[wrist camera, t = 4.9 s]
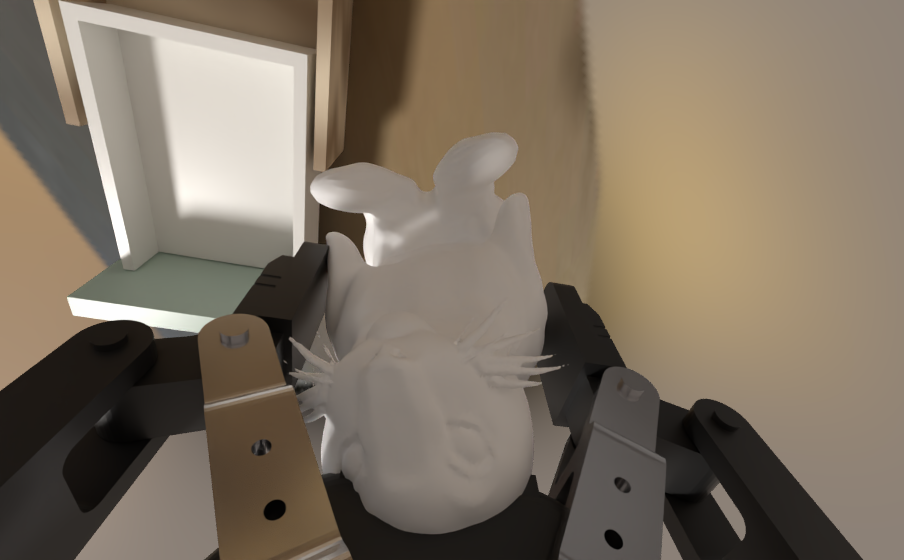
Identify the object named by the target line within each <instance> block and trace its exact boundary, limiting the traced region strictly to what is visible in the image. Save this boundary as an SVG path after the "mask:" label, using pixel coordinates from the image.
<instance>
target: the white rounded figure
mask: <svg viewBox="0 0 904 560" xmlns="http://www.w3.org/2000/svg"><path fill="white" fill-rule="evenodd" d="M517 151H518V145H517V143H516V141H515V140H514V139H513V138H512V137H511V136H509V135H508V134H506V133H499V132H492V133H487V134H483V135H479V136H474V137H470V138H465V139H462V140H460V141H459V142H457V143H456V144H455V145H454V146H453V147H452V148H451V149H450V150H449V151H448V152H447V153H446V154H445V156H444V157H443V158H442V160H441V161H440V163H439V164H438V166H437V167H436V169H435V172H434V175H433V180H434V183H435V188H434V189H433V190H432V191H430V192H424V191H422V190H420V189H419V188H418V186H417V185H416V183H415V181H414V180H412V179H411V178H408V177H406V176H403V175H400V174H398V173H395V172H393V171H391V170H389V169H386V168H384V167H381V166H378V165H375V164H371V163H365V162H360V163H355V164H350V165H346V166H342V167H337V168H332V169H329V170H326V171H324V172H322V173H321V174H319V175H317V176H316V177H315V179H314V180H313V181H312V183H311V186H310V192H311V194H312V195H313V197H314V198H315V199H316V200H317V202H319V203H320V204H323V205H324V206H327V207H329V208H332V209H336V210H340V211H345V212H351V213H363V214H364V216H365V219H366V231H365V235H364V240H363V249H364V256H365V260H366V263H365V262H364V260H363V259H362V257H361V255H360V252H359V251H358V249H357V247H356V246H355V244H354V243H353V242H352V241H351V240H350V239H349V238H348V237H346V236H345V235H343V234H341V233H338V232H329V233H328V234H327V235H326V241H327V245H329V250H328V255H327V270H328V288H327V298H326V309H325V320H326V328H327V333H328V336H329V339H330V342H331V344H332V346H333V349H334V352H335V355H336V358H337V360H338V362H337V363H336V362H335V361H334V360H333V357H332V356H331V354H330V352H329V350H328V348H327V347H326V346H325V345H324V344H323V347H324V350H325V351H326V353H327V354H328V356H329V357H330V358H332V360H331V362H330V363H328V362H326V361H324V360H322V359H321V358H319V357H317V356H315V355H314V354H312V353H311V352H310V351H309V350H308V349H306V348H305V347H304V346H303V345H302V344H300V343H298V342H296V341H295V340H294V339H293V338H291V337H290V338H289V340H290V341H291V342H292V343H293V345H294V346H295V347H296V348H297V349H298V350H299V352H300V353H301V354H302V355H303V356H304V358H305V359H306V360H307V361H308V362H310V363H311V364H312V365H313V366H315V367H317V368H318V369H320V370H321V371H322V372H323V373H305V372H303V371H300V370H298V369H296V368H295V370H296V371H297V372H299V373H296V372H289V374H290V375H292V376H294V377H296V378H298V379H302V380H305V381H306V380H307V381H311V382H312V383H315V386H314V384H313V386H314V387H312V388H310V389H309V388H308V390H306V391H304V392H302V393H301V394H299V395H297V396H296V397H297V400H298V402H299V401H302V402H303V403H302V404H301V405H300V406H299V407H300V410H301V413H302V412H304V411H306V410H308V409H311V408H313V409H314V411H313V412H312V413H311V414H309V415H308V416H306V417H304V418H303V419H304V423H308V422H312V421H315V420H317V419H318V418H320V417H322V416H325V418H326V422H325V427H324V432H323V438H322V446H321V461H322V462H321V463H322V471H323V474H327V473H335V474H336V473H340V471H341V470H342V472H343V474H344V476H345V478H346V479H349V480H350V481H352V483H353V486H354V489H355V491H356V492H358V493H359V495H360V498H361V501H362V503H363V505H364V507H365V509H366V510H367V511H368V512H369V513H371V514H373V515H375V516H376V517H378V518H379V519H381V520H382V521H384V522H386V523H388V524H390V525H392V526H393V527H395V528H397V529H400V530H403V531H407V532H412V533H421V534H443V533H448V532H453V531H457V530H460V529H463V528H466V527H469V526H471V525H474V524H478V523H481V522H483V521H485V520H487V519H489V518H491V517H493V516H495V515H497V514H498V513H500V512H502V511H503V510H504V509H506V508H507V507H508V506H509V505H510V504H512V503H513V502H514V501H515V500H516V499H517V498H518V497H519V496H520V495H522V493H523V491H524V490H525V488H526V485H527V483H528V481H529V478H530V475H531V472H532V466H533V455H534V437H533V426H532V421H531V414H530V409H529V405H528V401H527V398H526V395H525V392H524V390H523V388H524V387H529V386H530V387H533V386H537V385H539V384H542V382H540V383H538V382H533V381H531V382H530V381H527V380H528V378H529V376H530V375H536V374H537V375H538V374H543V373H546V372H550V371H554V370H557V369H560V368H561V366H558V367H548V368H547V367H543V368H534V367H535V365H536V364H537V362H538V361H540V360H543V359H546V358H551V357H552V356H553V355H549V356H548V355H546V356H541V353H542V350H543V346H544V338H545V325H546V321H547V314H548V312H547V303H546V299H545V295H544V292H543V286H542V281H541V277H540V274H539V271H538V268H537V265H536V263H535V258H534V251H533V245H532V234H531V216H530V209H529V203H528V198H527V196H526V195H525V194H523V193H515V194H513V195H511V196H509V197H508V198H507V199H506V200H505V201H504V200H503V199H501V198H500V197H498V196H497V195H495V194H494V181H495V180H497V179H498V178H499V177H501V176H502V175H503V174H504V173H505V172H506V171H507V170H508V169H509V168H510V167H511V166H512V164H513V163H514V162H515V159H516V155H517ZM316 333H318V332H316ZM318 335H319V333H318ZM319 337H320V336H319ZM555 355H556V354H555ZM283 361H284V360H283ZM284 362H285V363H287V362H286V361H284ZM563 366H565V365H563ZM313 370H314V369H313Z"/></svg>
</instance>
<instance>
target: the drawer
mask: <svg viewBox="0 0 904 560" xmlns="http://www.w3.org/2000/svg"><path fill="white" fill-rule="evenodd" d="M58 2H59V6H60V10H61V14H62V18H63V22H64V26H65V30H66V34H67V39H68V43H69V47H70V51H71V55H72V59H73V63H74V67H75V71H76V76H77V80H78V84H79V88H80V92H81V96H82V100H83V104H84V108H85V113H86V117H87V121H88V125H89V129H90V133H91V137H92V141H93V145H94V150H95V154H96V158H97V162H98V166H99V170H100V174H101V178H102V182H103V187H104V191H105V195H106V199H107V203H108V207H109V211H110V215H111V219H112V224H113V228H114V232H115V236H116V240H117V244H118V248H119V252H120V257H121V259H119V260H118V261H116V262H115V263H114V264H112V265H111V266H109V267H108V268H107V269H105V270H104V271H102V272H101V273H100V274H98V275H97V276H95V277H94V278H93V279H91V280H90V281H88V282H87V283H86V284H84V285H83V286H82V287H80V288H79V289H77V290H76V291H74V292H73V293H72V294H70V295H69V296H67V299H68V302H69V305H70V308H71V311H72V314H73V315H74V316H82V317H89V318H96V319H103V320H110V321H113V320H134V321H138V322H142V323H144V324H146V325H148V326H153V327H161V328H168V329H175V330H182V331H189V332H196V333H199V332H200V330H201V329H202V328H203V327H204V326H205V325H206V324H207V323H208V322H210V321H212V320H214V319H216V318H218V317H221V316H225V315H230V314H233V312H234V311H235V309H236V308H237V306H238V305H239V304H240V302H241V301H242V299H243V298H244V297H245V295H246V294H247V292H248V291H249V290H250V288H251V287H252V285H254V284H255V281H256V280H257V278H258V277H259V276H261V273H262V271H263V270H264V268H265V267H266V266H267V264H268V263H269V262H271V261H273V260H275V259H276V258H278V257H280V256H282V255H286V256H292V257H294V256H295V255H296V253H297V252H298V250H299V248H300V247H301V245H302V243H303V242H312V243H318V230H319V202H317V200H316V199H315V198H314V197H313V195H312V194H311V192H310V186H311V183H312V181H313V180H314V179H315V177H316V176H317V175H319V174H321V171H316V170H313V166H314V130H315V94H316V58H317V49H312V48H308V47H303V46H299V45H294V44H290V43H285V42H281V41H276V40H272V39H267V38H263V37H258V36H254V35H249V34H245V33H240V32H236V31H231V30H227V29H222V28H218V27H213V26H209V25H204V24H200V23H195V22H190V21H186V20H181V19H177V18H172V17H168V16H163V15H159V14H154V13H150V12H145V11H141V10H136V9H132V8H127V7H123V6H118V5H114V4H106V3H91V2H77V1H62V0H58Z"/></svg>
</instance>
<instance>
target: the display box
mask: <svg viewBox="0 0 904 560" xmlns="http://www.w3.org/2000/svg"><path fill="white" fill-rule="evenodd" d="M62 1H77V2H91V3H106V4H114V5H118V6H123V7H127V8H132V9H136V10H141V11H145V12H150V13H154V14H159V15H163V16H168V17H172V18H177V19H181V20H186V21H190V22H195V23H200V24H204V25H209V26H213V27H218V28H222V29H227V30H231V31H236V32H240V33H245V34H249V35H254V36H258V37H263V38H267V39H272V40H276V41H281V42H285V43H290V44H294V45H299V46H303V47H308V48H312V49H317V58H316V94H315V130H314V166H313V170H316V171H321V172H324V171H326V170H328V168H329V167H330V166H331V165H332V164H333V162H334V161H335V160H336V159H337V157H338V156H339V155H340V154H341V153H342V151H343V150H344V136H345V121H346V105H347V90H348V74H349V59H350V43H351V28H352V12H353V0H62ZM34 4H35V8H36V12H37V15H38V19H39V23H40V26H41V30H42V34H43V38H44V41H45V45H46V49H47V52H48V56H49V60H50V64H51V67H52V71H53V75H54V78H55V82H56V86H57V90H58V93H59V97H60V101H61V104H62V108H63V112H64V116H65V119H66V123H67V124H72V125H77V126H83V125H86V124H88V121H87V117H86V113H85V108H84V104H83V100H82V96H81V92H80V88H79V84H78V80H77V76H76V71H75V67H74V63H73V59H72V55H71V51H70V47H69V43H68V39H67V34H66V30H65V26H64V22H63V18H62V14H61V10H60V6H59V2H58V0H34Z"/></svg>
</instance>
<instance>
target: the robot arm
mask: <svg viewBox="0 0 904 560" xmlns="http://www.w3.org/2000/svg"><path fill="white" fill-rule="evenodd" d="M328 250H329V245H324V244H318V243H312V242H303V243H302V245H301V247H300V248H299V250H298V252H297V253H296V255H295V256H294V257H292V256H286V255H282V256H280V257H278V258H276V259H275V260H273V261H271V262H269V263H268V264H267V266H266V267H265V268H264V270H263V271H262V273H261V276H259V277H258V278H257V280H256V281H255V284H254V285H252V287H251V288H250V290H249V291H248V292H247V294H246V295H245V297H244V298H243V299H242V301H241V302H240V304H239V305H238V306H237V308H236V309H235V311H234V312H233V314H230V315H225V316H221V317H218V318H216V319H214V320H212V321H210V322H208V323H207V324H206V325H205V326H204V327H203V328H202V329H201V330H200V332H199V334H198V335H194V336H187V337H175V338H162V339H154V335H153V332H152V329H151V328H150V327H149V326H148V325H146V324H144V323H142V322H138V321H134V320H113V321H107V322H103V323H99V324H96V325H93V326H91V327H88V328H86V329H84V330H82V331H80V332H79V333H77V334H76V335H74V336H73V337H72V338H70V339H69V340H68V341H66V342H65V343H64V344H62V345H61V346H60V347H58V348H57V349H56V350H54V351H53V352H52V353H50V354H49V355H48V356H46V357H45V358H44V359H42V360H41V361H40V362H38V363H37V364H36V365H34V366H33V367H32V368H30V369H29V370H28V371H26V372H25V373H24V374H22V375H21V376H20V377H18V378H17V379H16V380H14V381H13V382H12V383H10V384H9V385H8V386H6V387H5V388H4V389H3V390H1V391H0V560H74V559H75V558H76V556H77V555H78V554H79V553H80V552H81V550H82V549H83V548H84V546H85V545H86V544H87V542H88V541H89V540H90V539H91V537H92V536H93V535H94V533H95V532H96V531H97V529H98V528H99V527H100V526H101V524H102V523H103V522H104V520H105V519H106V518H107V516H108V515H109V514H110V512H111V511H112V510H113V509H114V507H115V506H116V504H117V503H118V502H119V501H120V500H121V498H122V496H124V494H125V493H126V492H127V490H128V489H129V488H130V486H131V485H132V484H133V483H134V481H135V480H136V479H137V477H138V476H139V475H140V473H141V472H142V471H143V470H144V468H145V467H146V466H147V464H148V463H149V462H150V461H151V459H152V458H153V457H154V455H155V454H156V453H157V451H158V450H159V448H160V447H161V446H162V445H163V443H164V442H165V441H166V440H167V438H168V437H169V436H170V435H176V434H182V433H189V432H195V431H201V430H206V433H207V443H208V452H209V462H210V470H211V479H212V490H213V498H214V508H215V518H216V527H217V536H218V545H219V548H217V549H216V550H215V551H214V552H213V553H212V554H210V555H209V556H208V557H207V558H206V559H204V560H661V548H662V532H663V522H664V524H665V525H666V528H667V529H668V531H669V533H670V535H671V537H672V539H673V541H674V543H675V545H676V547H677V549H678V551H679V553H680V555H681V557H682V559H683V560H863V559H862V558H861V557H860V555H859V554H858V553H857V552H856V551H855V549H854V548H853V547H852V546H851V545H850V543H849V542H848V541H847V540H846V539H845V537H844V536H843V535H842V534H841V533H840V531H839V530H838V529H837V528H836V527H835V525H834V524H833V523H832V522H831V521H830V520H829V518H828V517H827V516H826V515H825V514H824V513H823V511H822V510H821V509H820V508H819V506H818V505H817V504H816V503H815V502H814V500H813V499H812V498H811V497H810V496H809V494H808V493H807V492H806V491H805V490H804V489H803V487H802V486H801V485H800V484H799V482H798V481H797V480H796V479H795V478H794V477H793V475H792V474H791V473H790V472H789V471H788V469H787V468H786V467H785V466H784V465H783V463H782V462H781V461H780V460H779V459H778V457H777V456H776V455H775V454H774V453H773V451H772V450H771V449H770V448H769V447H768V446H767V444H766V443H765V442H764V441H763V439H762V438H761V437H760V436H759V435H758V434H757V432H756V431H755V430H754V429H753V428H752V426H751V425H750V424H749V423H748V422H747V421H746V420H745V419H744V418H743V417H742V416H741V415H740V414H739V413H737V412H736V411H735V410H733V409H732V408H730V407H728V406H727V405H724V404H723V403H720V402H718V401H714V400H711V399H700V400H698V401H696V402H695V404H694V405H693V406H692V408H691V409H690V410H687V409H684V408H681V407H679V406H676V405H673V404H671V403H668V402H665V401H663V400H660V397H659V394H658V392H657V390H656V388H655V387H654V386H653V384H651V382H649V381H648V380H647V379H646V378H645V377H644V376H642V375H640V374H639V373H637V372H635V371H633V370H631V369H628V368H626V366H625V364H624V362H623V360H622V358H621V356H620V355H619V353H618V351H617V349H616V347H615V345H614V343H613V341H612V339H610V335H609V334H608V332H607V330H606V329H605V326H604V324H603V322H602V320H601V318H600V316H599V315H598V314H597V313H596V312H595V311H594V310H593V309H592V308H591V307H590V306H589V305H588V304H584V303H582V301H581V299H580V297H579V295H578V293H577V291H576V289H575V287H574V286H571V285H565V284H558V283H552V282H549V283H548V284H547V285H546V287H545V289H544V295H545V299H546V303H547V312H548V314H547V321H546V325H545V338H544V346H543V350H542V353H541V356H546V355H548V356H549V355H553V356H552V357H551V358H546V359H543V360H540V361H538V362H537V366H538V368H543V367H547V368H548V367H558V366H561V368H560V369H557V370H554V371H550V372H546V373H543V374H540V377H541V381H542V385H543V389H544V392H545V396H546V400H547V403H548V407H549V411H550V414H551V418H552V422H553V425H555V426H563V427H569V429H570V432H571V434H570V436H569V438H568V439H567V441H566V443H565V446H564V450H563V452H562V455H561V459H560V461H559V464H558V467H557V470H556V473H555V476H554V479H553V482H552V485H551V488H550V491H549V494H548V496H547V495H545V494H543V493H541V492H539V490H538V485H537V480H536V476H535V475H530V478H529V481H528V483H527V485H526V488H525V490H524V491H523V493H522V495H520V496H519V497H518V498H517V499H516V500H515V501H514V502H513V503H512V504H510V505H509V506H508V507H507V508H506V509H504V510H503V511H502V512H500V513H498V514H497V515H495V516H493V517H491V518H489V519H487V520H485V521H483V522H481V523H478V524H474V525H471V526H469V527H466V528H463V529H460V530H457V531H453V532H448V533H443V534H421V533H412V532H407V531H403V530H400V529H397V528H395V527H393V526H392V525H390V524H388V523H386V522H384V521H382V520H381V519H379V518H378V517H376V516H375V515H373V514H371V513H369V512H368V511H367V510H366V509H365V507H364V505H363V503H362V501H361V498H360V495H359V493H358V492H356V491H355V489H354V486H353V483H352V481H350V480H349V479H346V478H345V476H344V474H343V472H342V470H341V471H340V473H336V474H335V473H327V474H323V475H321V473H320V470H319V467H318V464H317V461H316V457H315V454H314V451H313V448H312V445H311V442H310V438H309V435H308V432H307V429H306V426H305V423H304V419H303V416H302V413H301V410H300V407H299V404H298V400H297V397H296V394H295V391H294V388H295V385H296V383H297V380H298V378H296V377H294V376H292V375H290V374H289V372H296V373H299V372H297V371H296V370H295V368H296V369H298V370H300V371H301V370H302V368H303V365H304V363H305V360H306V359H305V358H304V356H303V355H302V354H301V353H300V352H299V350H298V349H297V348H296V347H295V346H294V345H293V343H292V342H291V341H290V340H289V338H290V337H291V338H293V339H294V340H295V341H296V342H298V343H300V344H302V345H303V346H304V347H305V348H306V349H308V350H310V348H311V345H312V343H313V340H314V338H315V335H316V332H317V330H318V328H319V325H320V323H321V320H322V318H323V315H324V313H325V309H326V298H327V288H328V270H327V255H328ZM555 354H556V355H555ZM283 360H284V361H286V362H287V363H285V362H284V361H283ZM563 365H565V366H563ZM719 483H721V485H722V486H723V488H724V489H725V491H726V492H727V494H728V495H729V497H730V498H731V499H732V501H733V502H734V504H735V505H736V507H737V508H738V510H739V511H740V513H741V515H742V517H743V518H744V522H745V526H746V534H745V538H744V539H743V540H742V541H741V540H740V539H739V537H738V535H737V534H736V532H735V531H734V529H733V528H732V526H731V524H730V523H729V521H728V520H727V518H726V517H725V515H724V513H723V512H722V510H721V509H720V507H719V506H718V504H717V503H716V501H715V499H714V498H713V496H712V495H711V493H710V492H711V491H712V490H713V489H714V488H715V487H716V486H717V485H718V484H719Z"/></svg>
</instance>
